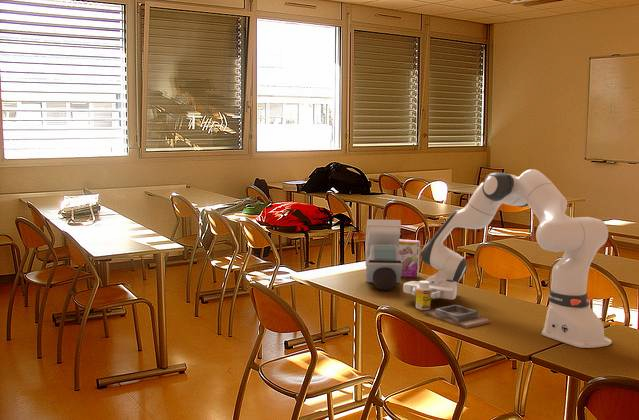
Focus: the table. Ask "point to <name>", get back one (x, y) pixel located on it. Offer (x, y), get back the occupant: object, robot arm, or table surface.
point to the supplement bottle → (423, 295)
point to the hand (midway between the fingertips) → (422, 294)
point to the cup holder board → (458, 316)
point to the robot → (383, 253)
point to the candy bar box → (409, 257)
